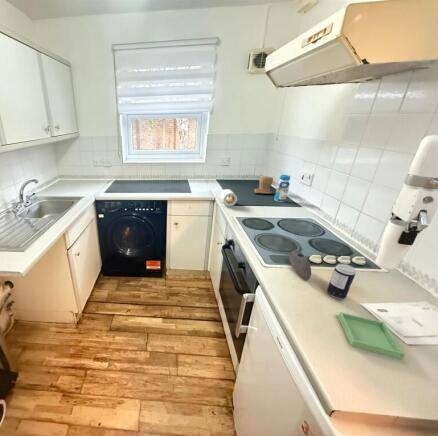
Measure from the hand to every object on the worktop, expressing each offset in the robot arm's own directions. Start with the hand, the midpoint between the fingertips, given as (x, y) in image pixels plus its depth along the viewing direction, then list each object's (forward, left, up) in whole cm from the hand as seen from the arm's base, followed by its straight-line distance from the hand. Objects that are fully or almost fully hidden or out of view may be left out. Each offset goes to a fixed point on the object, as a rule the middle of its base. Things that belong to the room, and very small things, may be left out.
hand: (398, 238), depth 73 cm
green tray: (+6, +17, -26) cm, 31 cm away
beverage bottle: (+16, -115, -26) cm, 119 cm away
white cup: (0, 0, -10) cm, 10 cm away
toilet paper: (+54, -92, -26) cm, 110 cm away
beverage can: (+9, -1, -26) cm, 27 cm away
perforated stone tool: (+19, -12, -26) cm, 34 cm away
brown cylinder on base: (+28, -133, -26) cm, 138 cm away
